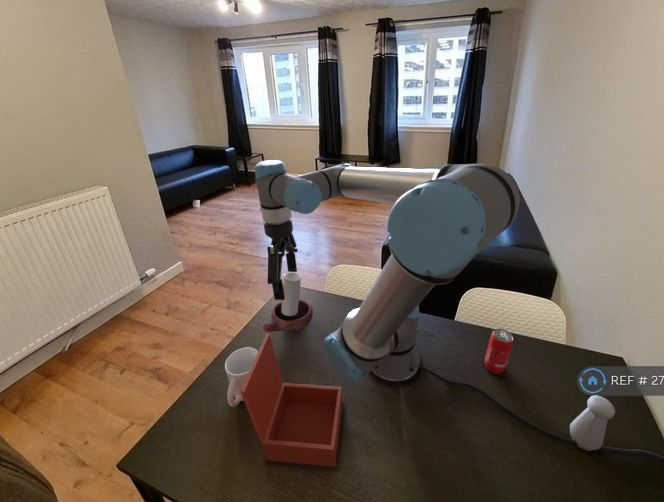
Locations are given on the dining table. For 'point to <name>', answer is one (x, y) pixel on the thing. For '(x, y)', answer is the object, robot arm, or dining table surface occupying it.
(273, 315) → the bowl
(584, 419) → the salt shaker
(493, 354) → the beverage can
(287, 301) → the white cylinder
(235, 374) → the mug
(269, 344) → the box lid
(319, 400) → the red tray
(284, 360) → the dining table surface
